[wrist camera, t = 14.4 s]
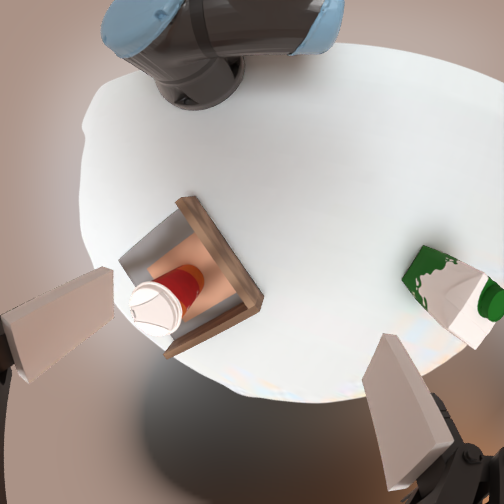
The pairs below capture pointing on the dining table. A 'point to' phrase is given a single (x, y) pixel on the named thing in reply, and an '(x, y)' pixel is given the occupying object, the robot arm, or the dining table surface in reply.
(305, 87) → the dining table surface
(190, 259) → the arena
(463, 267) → the milk carton
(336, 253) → the dining table surface
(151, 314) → the paper cup
